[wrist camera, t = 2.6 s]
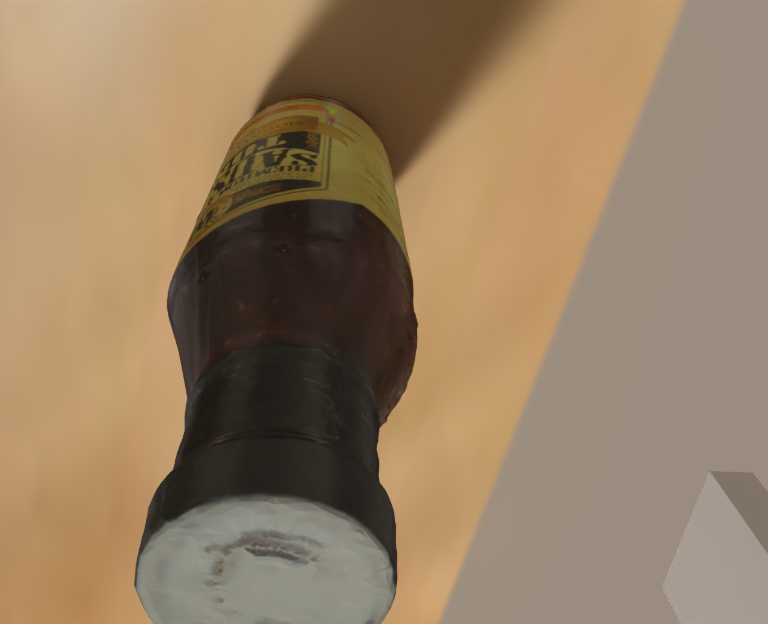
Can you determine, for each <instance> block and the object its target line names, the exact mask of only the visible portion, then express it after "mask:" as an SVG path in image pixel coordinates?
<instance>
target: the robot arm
mask: <svg viewBox="0 0 768 624" xmlns="http://www.w3.org/2000/svg"><path fill="white" fill-rule="evenodd" d="M662 588H663V590H664V592H665V594H666V596H667V598H668V600H669V602H670V604H671V606H672V608H673V610H674V612H675V614H676V616H677V618H678V619H679V622H680V623H681V624H768V492H767V490H766V489H765V488H764V487H763V485H762V484H761V483H760V481H759V480H758V479H757V478H756V476H755V475H754V474H753V473H746V472H720V471H719V472H718V471H709V474H708V476H707V479H706V481H705V484H704V486H703V489H702V491H701V493H700V496H699V498H698V501H697V503H696V506H695V508H694V511H693V513H692V515H691V518H690V520H689V523H688V525H687V528H686V530H685V533H684V535H683V538H682V540H681V542H680V545H679V547H678V550H677V552H676V554H675V557H674V559H673V562H672V564H671V567H670V569H669V572H668V574H667V577H666V579H665V581H664V584H663V586H662Z"/></svg>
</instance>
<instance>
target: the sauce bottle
mask: <svg viewBox="0 0 768 624" xmlns="http://www.w3.org/2000/svg"><path fill="white" fill-rule="evenodd" d="M413 296H414V295H413V277H412V272H411V267H410V262H409V257H408V253H407V248H406V243H405V237H404V232H403V227H402V222H401V216H400V210H399V205H398V199H397V195H396V190H395V184H394V179H393V174H392V170H391V166H390V161H389V158H388V156H387V153H386V151H385V149H384V146H383V144H382V142H381V141H380V139H379V138H378V137H377V135H376V133H375V132H374V130H373V129H372V127H371V125H370V124H369V123H368V122H367V120H366V119H365V118H364V117H363V116H362V114H361V113H359V112H357V111H356V110H355V109H353V108H352V107H350V106H349V105H347V104H345V103H342V102H340V101H337V100H335V99H332V98H325V97H323V96H315V95H312V94H304V95H298V96H294V97H291V98H287V99H284V100H282V101H280V102H277V103H275V104H273V105H271V106H267V107H265V108H264V109H263V111H261V112H260V113H258V114H257V115H255V116H254V117H252V118H251V119H250V120H249V121H248V122H247V123H246V124H245V125H244V126H243V127H242V128H241V129H240V131H239V132H238V134H237V135H236V136H235V138H234V139H233V141H232V143H231V145H230V147H229V150H228V152H227V154H226V156H225V159H224V161H223V163H222V165H221V167H220V170H219V172H218V174H217V176H216V179H215V181H214V184H213V186H212V188H211V190H210V192H209V195H208V197H207V199H206V201H205V203H204V205H203V208H202V210H201V212H200V214H199V216H198V218H197V221H196V224H195V227H194V229H193V231H192V233H191V236H190V238H189V240H188V242H187V244H186V247H185V249H184V251H183V253H182V255H181V258H180V260H179V262H178V265H177V267H176V270H175V272H174V275H173V277H172V280H171V282H170V286H169V291H168V298H167V310H168V316H169V320H170V323H171V327H172V330H173V334H174V337H175V340H176V344H177V347H178V351H179V355H180V361H181V366H182V371H183V377H184V382H185V388H186V393H187V403H186V410H185V431H184V435H183V439H182V441H181V444H180V446H179V449H178V452H177V456H176V459H175V464H174V468H173V470H172V471H171V472H170V473H169V474H168V475H167V477H166V478H165V479H164V480H163V481H162V482H161V484H160V485H159V487H158V488H157V490H156V492H155V494H154V496H153V498H152V501H151V503H150V505H149V508H148V514H147V519H146V524H145V529H144V533H143V536H142V540H141V545H140V548H139V552H138V557H137V562H136V572H135V583H134V586H135V588H136V591H137V593H138V596H139V598H140V601H141V603H142V605H143V608H144V609H145V611H146V613H147V615H148V616H149V618H150V619H151V620H152V622H153V623H154V624H381V622H382V621H383V620H384V619H385V617H386V615H387V613H388V612H389V610H390V608H391V606H392V603H393V600H394V597H395V594H396V586H397V550H396V523H395V516H394V511H393V507H392V504H391V502H390V499H389V497H388V494H387V492H386V490H385V489H384V488H383V486H382V485H381V484H380V482H379V458H378V453H377V449H376V448H377V443H378V436H379V428H380V427H381V426H382V425H383V424H384V423H386V421H387V417H388V416H389V414H390V413H391V411H392V410H393V409H394V408H395V406H396V405H397V403H398V402H399V400H400V398H401V396H402V394H403V393H404V392H405V389H406V387H407V383H408V381H409V378H410V376H411V373H412V370H413V366H414V361H415V355H416V349H417V327H418V322H417V319H416V315H415V312H414V306H413Z"/></svg>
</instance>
